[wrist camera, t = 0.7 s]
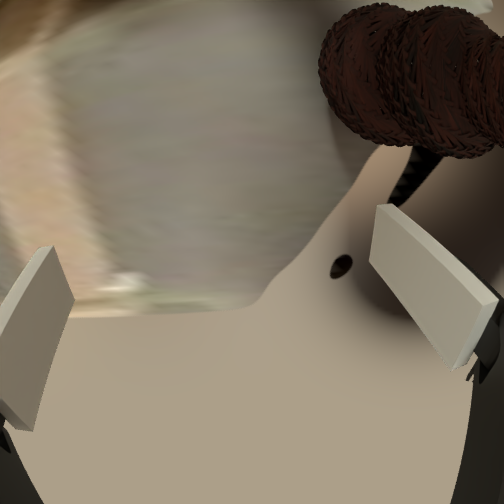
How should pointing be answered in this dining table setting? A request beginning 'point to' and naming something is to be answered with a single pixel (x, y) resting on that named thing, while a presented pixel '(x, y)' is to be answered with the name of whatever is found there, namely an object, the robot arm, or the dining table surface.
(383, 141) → the vase
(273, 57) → the dining table surface
